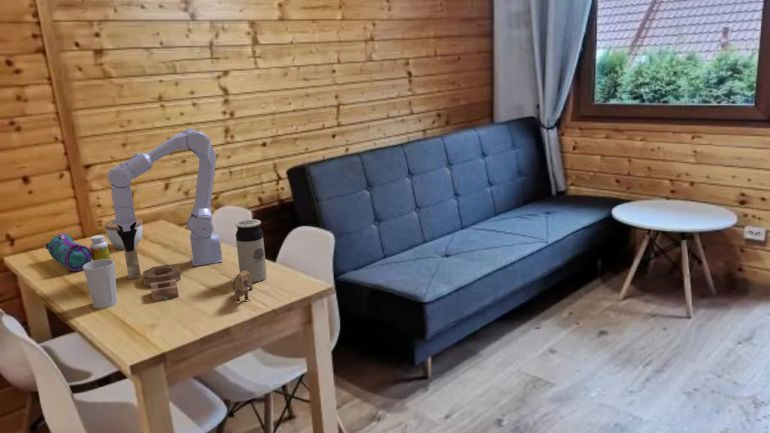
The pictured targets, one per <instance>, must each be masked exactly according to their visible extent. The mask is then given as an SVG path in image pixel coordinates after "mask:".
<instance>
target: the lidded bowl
mask: <svg viewBox="0 0 770 433" xmlns="http://www.w3.org/2000/svg"><path fill="white" fill-rule="evenodd" d="M136 219H137V221H136V225H135V229H137V232H136V234H135V240H134V247H137V246H138V244H140V242H141V240H142V238H143V234H144V228H143V219H141V218H140V217H139V218H138V217H136ZM104 226H105V232H106V235H107V238H108V240H109V242H110V243H111V244H112V245H113V246H114V247H116V248H117V249H119V250H120V249H121V250H124V249H125V247H124V244H123V241H122V239H121V238H120V236H119V235H118V234H117V230H120V228H119V227H118V226H117V224H112V220H109V221H107V222H106V223H105V224H104Z"/></svg>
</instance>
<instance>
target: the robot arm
mask: <svg viewBox="0 0 770 433" xmlns="http://www.w3.org/2000/svg"><path fill="white" fill-rule="evenodd" d="M188 150H189V151H191V152H192V153H193V154H194V155H195V156H196V158H197V159H198V160H199V161H198V168H197V170H198V171H197V179H196V185H195V195H194V202H193V204H194V205H193V207H192V209H191V211H190V215H189V217H188V219H187V221H186V226H187V228H188V230H189V231H190V235H189V238H190V240H189V241H190V245H191V246H190V248H191V256H192V257H191V258H190V260H191V263H192V267H197V266H198V267H199V266H203V265H211V264H216V263H222V262H223V256H222V255H223V253H222V246H221V239H220V235H219V234H218V233H213V232H214V228H215V227H214V225H213V220H212V219H213V215H212V211H211V203H212V198H213V197H212V195H213V189H214V188H213V187H214V180H215V170H216V164H217V163H216V162H217V154H216V152H215V150H214V147H213V145H212V143H211V139H210V138H209V136H207V135H206V134H205V133H204V132H203V131H199V130H195V129H192V128H186V129H185V130H182V132H178V133H176V134H175V135H173V136H172V137H170V138H168V139H167V140H165V141H164V142H162V143H161V144H159V145H158V146H156V147H155V148H153V149H151V150H150V151H149V152H146V153H144V152H139V153H137V152H135V153H134V154H132V157H130V158H129V159H127V160H126V161H124V162H122V161H121V162H119V166H114V167H111V168H110V169H109V171H108V172H107V176H106V178H107V180H108V182H109V183H110V190H111V192H110V193H111V194H110V195H111V200H112V206H113V211H114V217H115V219H113V220H111V221H112V224H117V226H118V227H119V228H120V230H117V234H118V235H119V236H120V238H121V239H122V241H123V244H124V247H125V249H126V251H127V252H129V251H134V240H135V234H136V232H137V229H135V225H136V221H137V219H136V218H137V217H136V211H135V205H134V198H133V191H132V187H131V183H132V180H135V179H136V178H138V177H139V176H142V175H143V174H145V173H146V172H148V171H149V170H151V169H152V168H153V164H154V163H155V162H157V161H158V160H160V159H162V158H164V157H166V156H168V155H169V154H172V153H173V152H175V151H188Z"/></svg>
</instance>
